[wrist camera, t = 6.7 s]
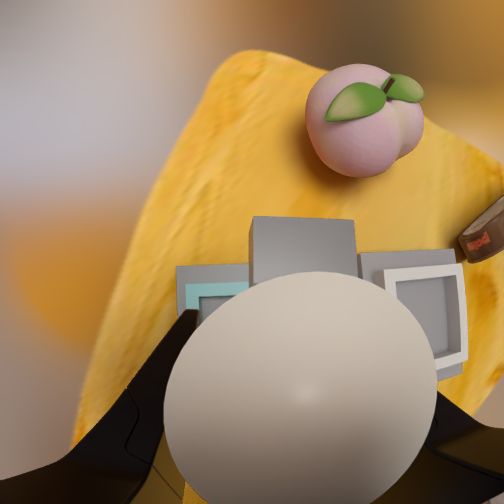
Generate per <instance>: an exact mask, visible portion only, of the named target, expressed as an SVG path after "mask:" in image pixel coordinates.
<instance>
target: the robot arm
mask: <svg viewBox="0 0 504 504" xmlns="http://www.w3.org/2000/svg"><path fill="white" fill-rule="evenodd" d="M200 325H201V322H200V312H199V310H198V309H185V310H184V311H183V313H182V314H181V315H180V317H179V318H178V319H177V321H176V322H175V323H174V325H173V326H172V327H171V329H170V330H169V331H168V332H167V334H166V335H165V336H164V338H163V339H162V340H161V342H160V343H159V344H158V346H157V347H156V348H155V350H154V351H153V352H152V354H151V355H150V356H149V358H148V359H147V360H146V362H145V363H144V364H143V366H142V367H141V368H140V370H139V371H138V372H137V374H136V375H135V377H134V378H133V379H132V381H131V382H130V383H129V385H128V386H127V389H125V390H124V391H123V393H122V394H121V395H120V397H119V398H118V399H117V401H116V402H115V403H114V404H113V406H112V407H111V408H110V409H109V411H108V412H107V413H106V414H105V415H104V416H103V417H102V418H101V420H100V421H99V422H98V423H97V424H96V425H95V426H94V427H93V428H92V429H91V430H90V431H89V432H88V433H87V434H86V435H85V437H84V438H83V439H82V440H81V441H80V442H79V443H78V444H77V445H76V446H75V447H74V448H73V449H72V450H71V451H70V452H69V453H68V454H67V455H65V456H64V457H63V458H61V459H60V460H58V461H57V462H54V463H52V464H49V465H47V466H44V467H41V468H38V469H35V470H32V471H29V472H26V473H23V474H20V475H17V476H14V477H11V478H7V479H4V480H0V504H182V503H183V501H182V500H183V494H184V486H185V479H184V477H183V476H182V475H181V473H180V472H179V470H178V468H177V466H176V464H175V462H174V460H173V458H172V456H171V453H170V450H169V447H168V443H167V440H166V434H165V427H164V401H165V395H166V389H167V384H168V381H169V378H170V375H171V372H172V369H173V366H174V364H175V362H176V360H177V358H178V356H179V354H180V352H181V350H182V349H183V347H184V346H185V344H186V343H187V341H188V340H189V338H190V337H191V335H192V334H193V333H194V331H195V330H196V329H197V328H198V327H199V326H200ZM370 504H504V429H503V428H494V427H489V426H485V425H483V424H481V423H479V422H478V421H476V420H475V419H473V418H472V417H471V416H469V415H468V414H467V413H466V412H464V411H463V410H462V409H460V408H459V407H458V406H456V405H455V404H454V403H452V402H451V401H450V400H449V399H447V398H446V397H445V396H444V395H442V394H441V393H440V392H439V391H437V399H436V405H435V412H434V416H433V419H432V423H431V426H430V429H429V432H428V434H427V437H426V439H425V441H424V443H423V445H422V447H421V449H420V451H419V453H418V454H417V456H416V458H415V459H414V460H413V462H412V463H411V465H410V466H409V468H408V469H407V470H406V471H405V473H404V474H403V475H402V476H401V477H400V478H399V479H398V480H397V482H396V483H394V484H393V485H392V486H391V487H390V488H389V489H388V490H387V491H386V492H385V493H383V494H382V495H381V496H379V497H378V498H377V499H375V500H374V501H373V502H371V503H370Z"/></svg>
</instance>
